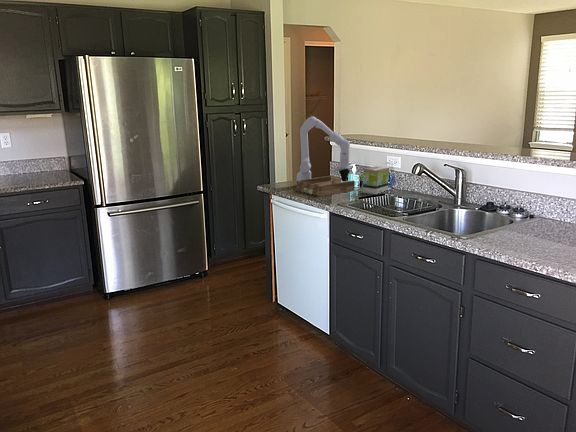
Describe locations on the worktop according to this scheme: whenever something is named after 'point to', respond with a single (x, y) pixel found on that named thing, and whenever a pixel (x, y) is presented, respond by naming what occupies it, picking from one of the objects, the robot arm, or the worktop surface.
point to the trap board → (324, 186)
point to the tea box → (375, 180)
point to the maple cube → (336, 180)
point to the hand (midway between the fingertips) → (344, 181)
